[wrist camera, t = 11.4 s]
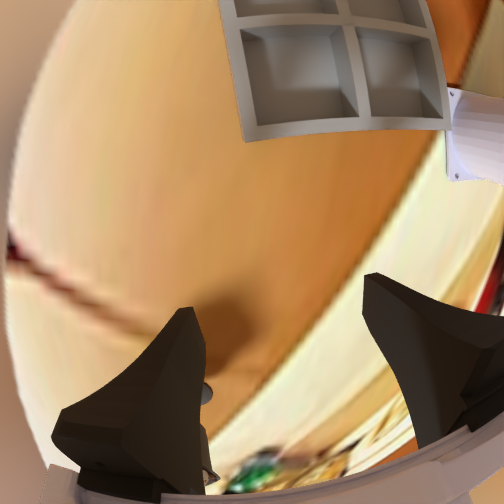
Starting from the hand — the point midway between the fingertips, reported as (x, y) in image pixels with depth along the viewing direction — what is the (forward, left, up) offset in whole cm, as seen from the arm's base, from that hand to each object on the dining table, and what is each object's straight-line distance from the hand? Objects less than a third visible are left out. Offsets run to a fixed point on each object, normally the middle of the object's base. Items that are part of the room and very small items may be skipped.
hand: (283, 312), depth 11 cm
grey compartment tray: (-7, -17, -9) cm, 21 cm away
